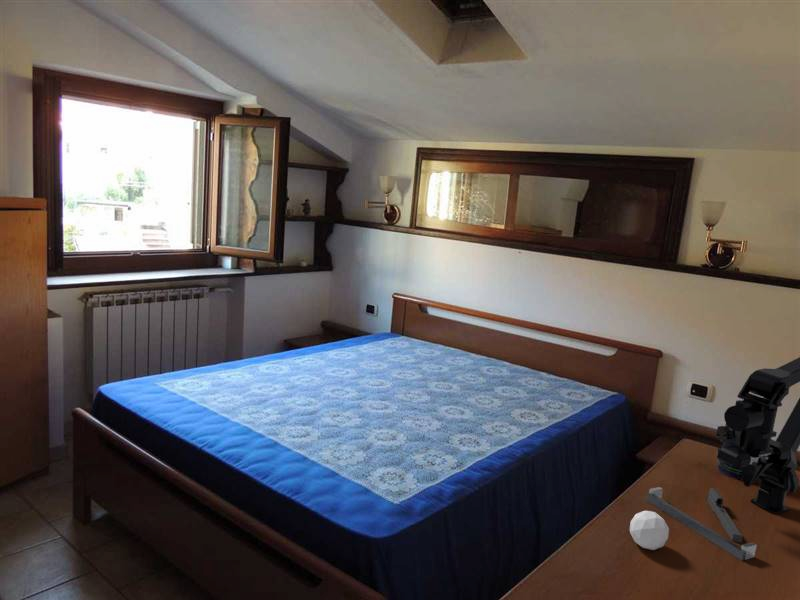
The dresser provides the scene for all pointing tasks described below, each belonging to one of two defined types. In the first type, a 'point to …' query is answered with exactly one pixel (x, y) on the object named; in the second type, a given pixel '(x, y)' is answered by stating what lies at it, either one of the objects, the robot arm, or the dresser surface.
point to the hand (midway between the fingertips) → (747, 485)
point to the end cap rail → (700, 527)
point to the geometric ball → (649, 530)
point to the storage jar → (728, 468)
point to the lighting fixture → (723, 515)
